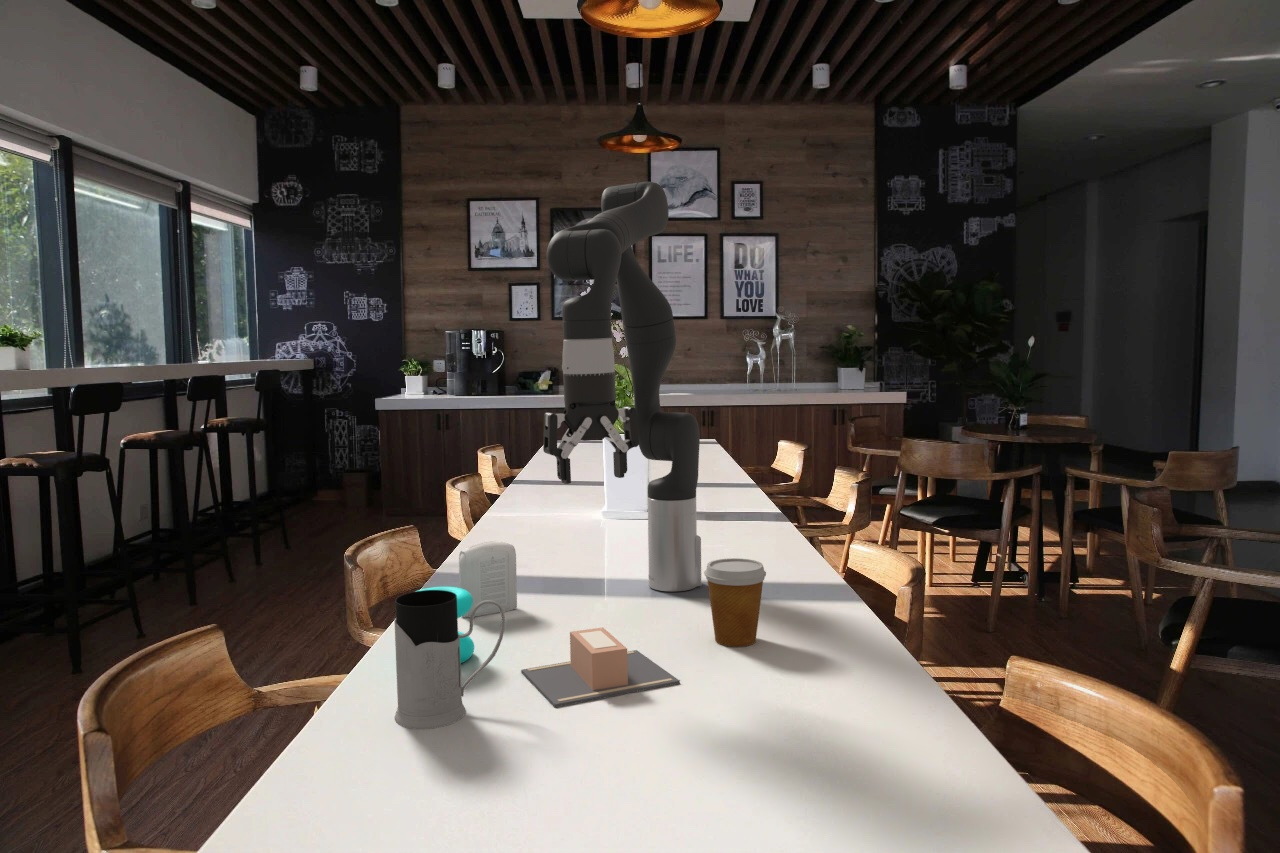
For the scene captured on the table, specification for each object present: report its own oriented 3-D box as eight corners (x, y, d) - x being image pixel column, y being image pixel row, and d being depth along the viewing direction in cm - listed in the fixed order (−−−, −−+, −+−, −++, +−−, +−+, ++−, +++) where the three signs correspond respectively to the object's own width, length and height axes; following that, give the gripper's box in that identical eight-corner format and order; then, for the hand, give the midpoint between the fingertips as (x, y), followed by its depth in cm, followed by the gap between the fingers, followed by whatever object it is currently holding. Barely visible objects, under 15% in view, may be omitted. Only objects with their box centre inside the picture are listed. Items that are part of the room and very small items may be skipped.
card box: (627, 684, 122) (627, 647, 122) (592, 690, 120) (591, 652, 120) (603, 661, 131) (603, 626, 131) (570, 665, 130) (569, 631, 129)
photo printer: (510, 604, 163) (508, 536, 162) (521, 609, 159) (519, 540, 158) (456, 614, 157) (454, 544, 156) (466, 620, 154) (463, 548, 152)
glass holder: (390, 707, 117) (385, 593, 115) (499, 690, 122) (495, 581, 121) (399, 733, 109) (394, 611, 107) (515, 714, 114) (511, 597, 113)
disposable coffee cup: (771, 633, 144) (771, 559, 143) (759, 653, 135) (759, 574, 134) (713, 628, 147) (712, 555, 146) (697, 647, 138) (696, 570, 137)
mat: (636, 652, 136) (636, 649, 136) (679, 683, 123) (679, 679, 123) (521, 672, 128) (521, 669, 128) (554, 707, 116) (554, 703, 116)
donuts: (428, 582, 140) (485, 587, 137) (430, 645, 141) (487, 651, 138) (389, 599, 131) (448, 605, 127) (391, 666, 132) (451, 674, 128)
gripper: (552, 374, 125) (557, 489, 127) (644, 368, 132) (647, 478, 133) (533, 371, 132) (538, 481, 134) (622, 366, 138) (625, 471, 140)
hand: (593, 480), depth 134 cm, fingers open, 8 cm apart
